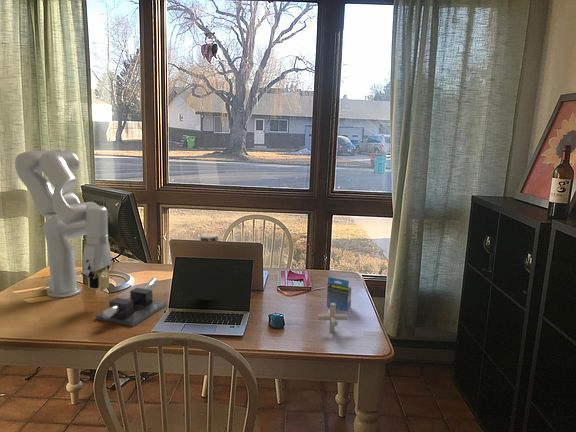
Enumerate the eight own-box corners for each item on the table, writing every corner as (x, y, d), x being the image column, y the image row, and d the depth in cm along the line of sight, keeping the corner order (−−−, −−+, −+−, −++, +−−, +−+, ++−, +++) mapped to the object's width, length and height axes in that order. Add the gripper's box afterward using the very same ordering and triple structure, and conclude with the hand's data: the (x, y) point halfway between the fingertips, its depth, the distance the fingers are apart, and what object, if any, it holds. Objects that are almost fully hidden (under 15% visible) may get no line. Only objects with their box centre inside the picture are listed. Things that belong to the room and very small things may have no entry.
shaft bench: (87, 323, 165) (85, 299, 164) (139, 295, 192) (138, 274, 190) (125, 331, 160) (124, 306, 158) (173, 301, 187) (172, 279, 185)
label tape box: (351, 307, 185) (352, 277, 182) (347, 311, 181) (348, 280, 179) (330, 303, 189) (331, 273, 186) (326, 306, 185) (327, 276, 183)
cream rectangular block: (100, 290, 176) (100, 273, 175) (87, 287, 178) (87, 270, 177) (109, 286, 181) (108, 269, 179) (96, 283, 183) (95, 266, 181)
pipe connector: (315, 325, 168) (316, 298, 166) (343, 324, 169) (344, 298, 167) (319, 337, 159) (320, 309, 157) (349, 337, 159) (350, 309, 157)
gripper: (104, 232, 184) (105, 276, 188) (71, 243, 169) (73, 291, 173) (120, 235, 182) (121, 280, 186) (88, 246, 166) (90, 295, 170)
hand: (98, 285), depth 179 cm, fingers closed on cream rectangular block, 4 cm apart
